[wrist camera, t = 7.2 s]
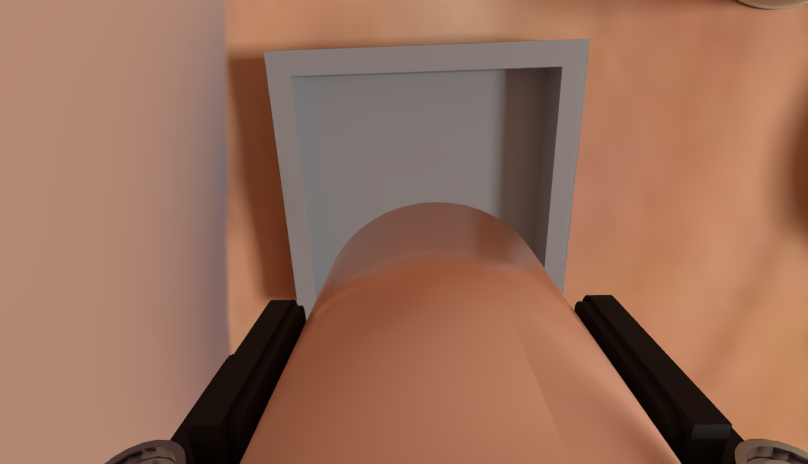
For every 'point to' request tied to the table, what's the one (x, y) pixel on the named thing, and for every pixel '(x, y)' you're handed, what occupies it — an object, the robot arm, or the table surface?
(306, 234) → the grey tray
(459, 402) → the terracotta cup
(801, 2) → the pillar candle
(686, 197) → the table surface
